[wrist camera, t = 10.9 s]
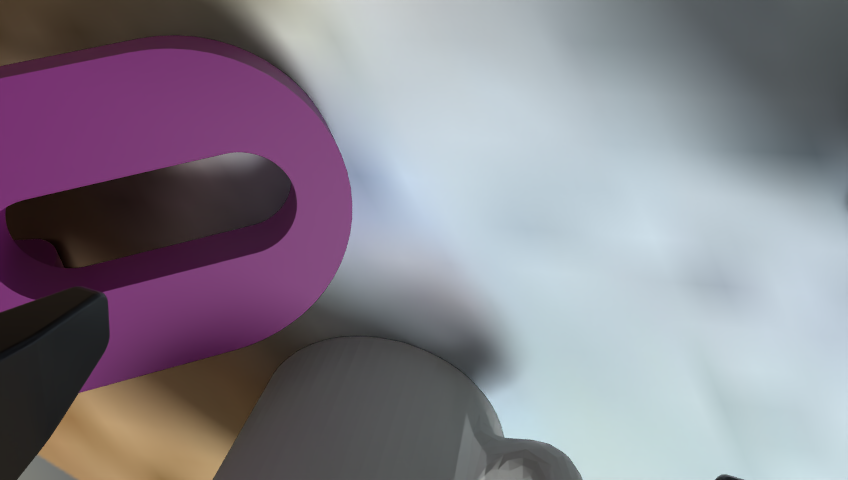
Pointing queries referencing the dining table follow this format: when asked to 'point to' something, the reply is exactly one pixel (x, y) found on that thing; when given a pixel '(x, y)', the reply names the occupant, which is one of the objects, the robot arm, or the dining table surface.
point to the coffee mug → (380, 422)
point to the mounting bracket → (158, 148)
